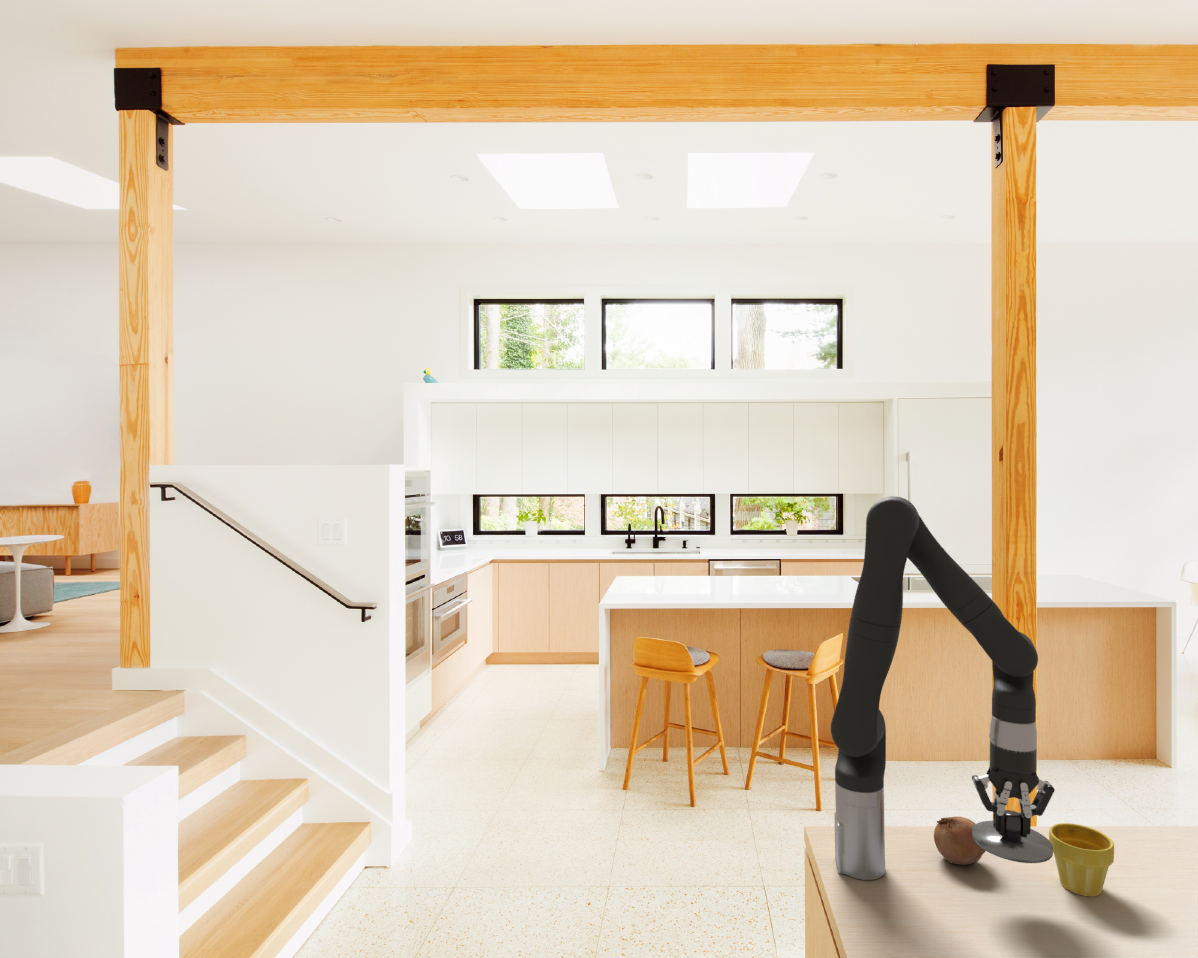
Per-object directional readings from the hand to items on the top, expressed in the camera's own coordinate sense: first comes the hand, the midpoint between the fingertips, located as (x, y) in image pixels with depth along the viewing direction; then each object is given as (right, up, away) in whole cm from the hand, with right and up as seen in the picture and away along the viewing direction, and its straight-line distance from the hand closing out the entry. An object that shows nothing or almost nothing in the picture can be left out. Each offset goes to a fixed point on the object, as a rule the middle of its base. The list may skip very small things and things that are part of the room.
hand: (1011, 833), depth 135 cm
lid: (0, -2, 0) cm, 2 cm away
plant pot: (+16, -12, +4) cm, 20 cm away
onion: (-3, -13, +14) cm, 19 cm away
